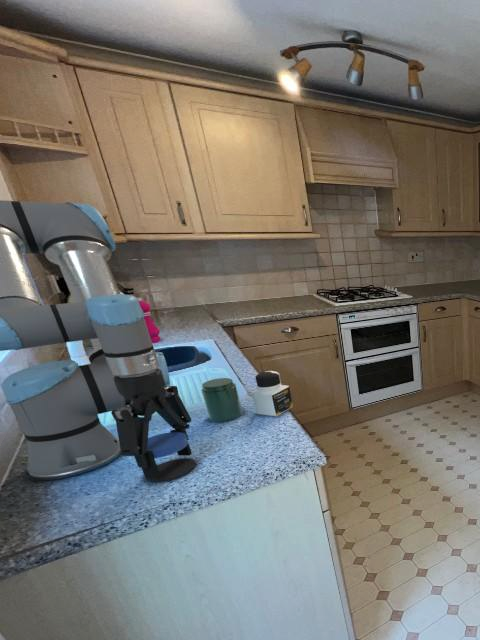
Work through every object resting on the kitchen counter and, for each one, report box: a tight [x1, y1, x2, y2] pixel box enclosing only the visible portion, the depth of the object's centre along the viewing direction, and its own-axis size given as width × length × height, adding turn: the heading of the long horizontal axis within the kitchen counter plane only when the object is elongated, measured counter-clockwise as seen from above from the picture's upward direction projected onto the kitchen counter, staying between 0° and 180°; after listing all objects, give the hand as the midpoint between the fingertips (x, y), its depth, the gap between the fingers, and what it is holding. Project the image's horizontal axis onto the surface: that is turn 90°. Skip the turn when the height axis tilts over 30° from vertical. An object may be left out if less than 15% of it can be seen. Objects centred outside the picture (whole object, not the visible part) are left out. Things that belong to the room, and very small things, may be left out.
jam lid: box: [138, 431, 189, 459], centre depth 89 cm, size 9×8×2 cm
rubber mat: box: [145, 457, 197, 484], centre depth 92 cm, size 9×9×1 cm
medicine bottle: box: [250, 370, 294, 417], centre depth 119 cm, size 7×7×12 cm
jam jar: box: [201, 377, 244, 423], centre depth 116 cm, size 8×8×10 cm
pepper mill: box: [136, 297, 162, 344], centre depth 182 cm, size 7×7×20 cm
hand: (169, 465), depth 91 cm, fingers closed on jam lid, 8 cm apart
